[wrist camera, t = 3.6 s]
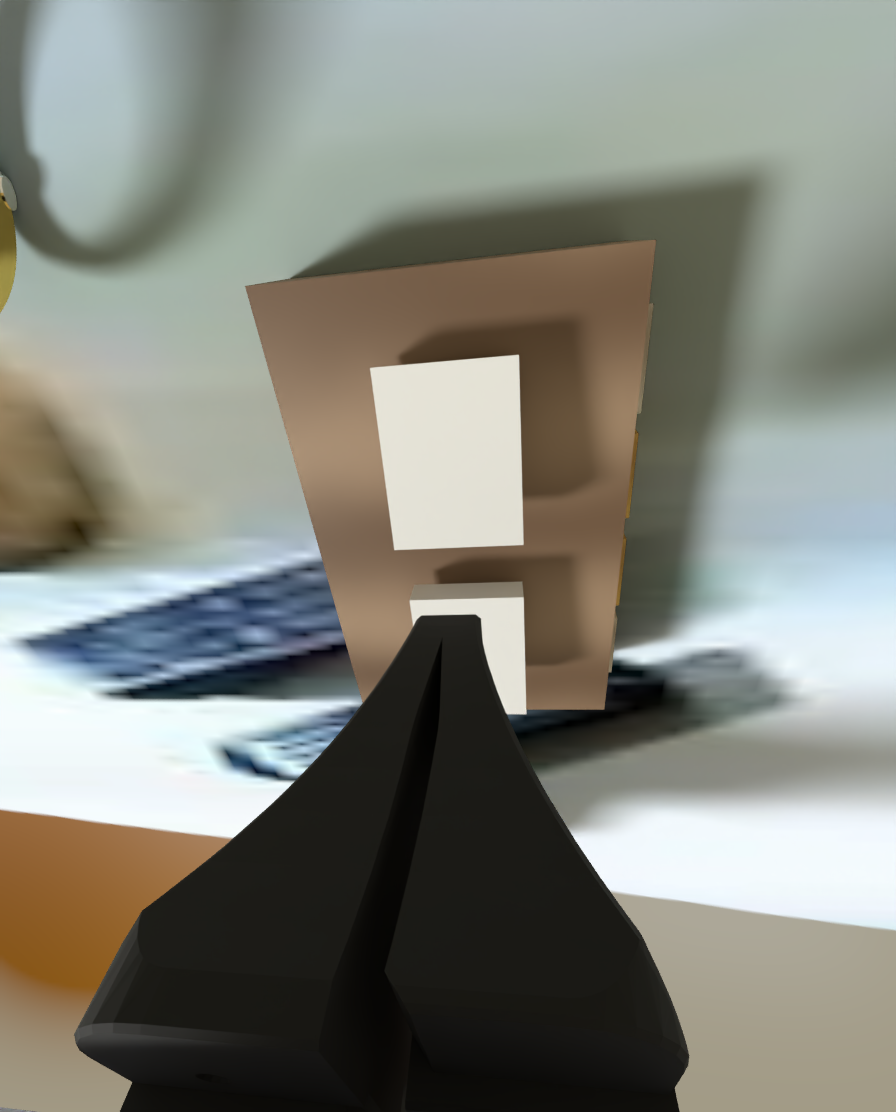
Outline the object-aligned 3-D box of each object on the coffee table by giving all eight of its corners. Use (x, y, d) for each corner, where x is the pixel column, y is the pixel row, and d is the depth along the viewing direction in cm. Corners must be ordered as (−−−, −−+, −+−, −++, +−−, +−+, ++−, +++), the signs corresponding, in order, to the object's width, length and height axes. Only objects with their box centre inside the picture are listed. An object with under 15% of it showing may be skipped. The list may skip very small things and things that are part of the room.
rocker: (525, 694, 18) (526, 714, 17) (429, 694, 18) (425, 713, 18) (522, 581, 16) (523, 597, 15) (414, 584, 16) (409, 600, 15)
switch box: (598, 656, 22) (615, 721, 19) (378, 659, 23) (361, 720, 20) (637, 239, 14) (678, 238, 11) (287, 279, 15) (234, 288, 12)
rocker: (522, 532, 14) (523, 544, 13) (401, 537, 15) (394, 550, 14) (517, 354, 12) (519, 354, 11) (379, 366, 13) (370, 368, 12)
